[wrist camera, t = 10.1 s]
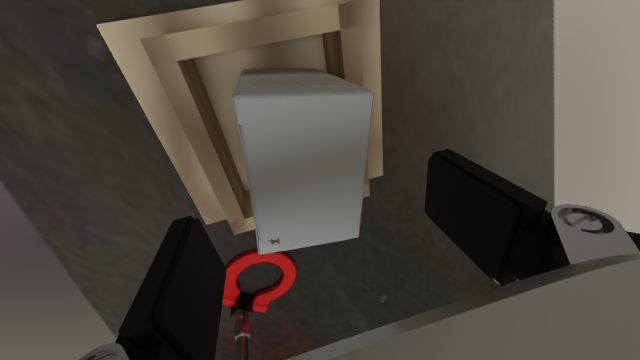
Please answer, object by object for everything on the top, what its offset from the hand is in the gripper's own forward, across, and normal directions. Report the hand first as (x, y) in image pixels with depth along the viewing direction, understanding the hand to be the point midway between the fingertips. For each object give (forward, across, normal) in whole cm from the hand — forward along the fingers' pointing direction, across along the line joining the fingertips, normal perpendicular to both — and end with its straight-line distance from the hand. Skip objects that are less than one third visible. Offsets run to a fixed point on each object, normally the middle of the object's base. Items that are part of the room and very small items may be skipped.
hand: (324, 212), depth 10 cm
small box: (+12, 0, -1) cm, 12 cm away
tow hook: (+13, +8, +17) cm, 23 cm away
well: (+13, +1, -1) cm, 13 cm away
